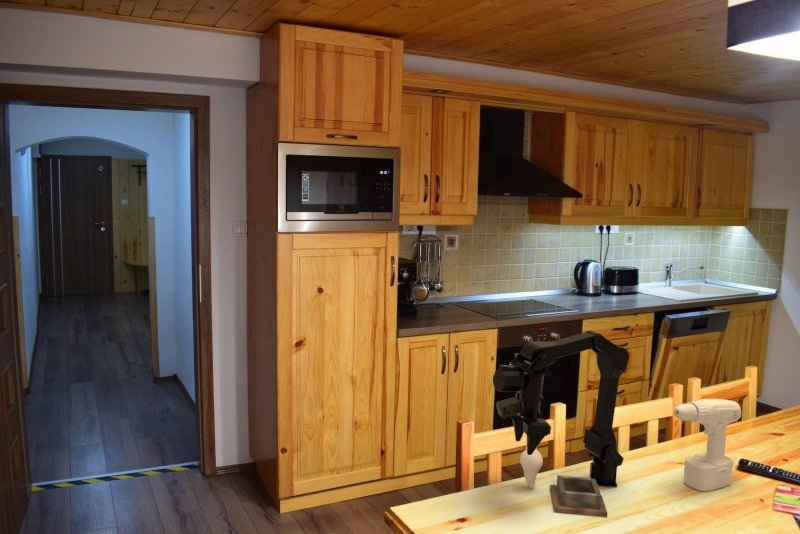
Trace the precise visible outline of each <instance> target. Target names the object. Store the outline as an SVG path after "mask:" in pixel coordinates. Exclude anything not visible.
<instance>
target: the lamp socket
mask: <svg viewBox="0 0 800 534" xmlns="http://www.w3.org/2000/svg"><path fill="white" fill-rule="evenodd" d="M549 491H550V495H551V500H552V501H551V502H552V506H553V511H554V513H559V514H570V515H578V516H579V515H580V516H590V517H591V516H592V517H600V518H607V517H608V511H607V510H608V509H607V508H606V505H605V502H604V499H603V497H602V494H601V490H600V488H599V485H597V483H596V480H595V479H594V478H590V477H581V476H570V475H569V476H568V475H560V474H559V475H556V484H550V485H549Z"/></svg>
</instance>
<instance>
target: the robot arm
mask: <svg viewBox="0 0 800 534" xmlns="http://www.w3.org/2000/svg"><path fill="white" fill-rule="evenodd" d="M589 350H591V351H593V352H594V354H596V364H597V368H598V371H599V375H600V377H599V385H598V392H597V398H596V406H595V407H596V408H595V413H594V422H593V424H592V425H591V426H590V428H586V429H584V437H583V441H582V442H583V444H584V448H585V450H586V451H587V453H588V456H590V457H591V458H592V462H590V464H589V478H594V479H595V480H596V483H597V486H602V487H603V486H604V487H613V488H614V487H615V488H617V487H618V484H617V475H618V474H617V473H618V472H617V471H618V467H621V466H622V465H623V462H624V456H622V455H621V454H620V453H619V451H618V450H617V438H616V436H615V433H614V429H613V427H614V426H613V425H614V417H615V412H616V411H615V410H616V403H617V395H618V389H619V382H620V378H621V377H622V375H623V374H624V372H626V370H627V366H628V364H629V359H630V353H629V351H628V350H627V349H626V348H625V347H622V346H620V345H617V344H615V343H613V342H612V341H611V340H609V339H607V338H606V337H605V336H603V334H602V333H598V332H596V331H593V330H586V331H585V332H582V333H578V334H575V335H571V336H570V335H569V336H567V337H564V338H560V339H556V340H552V341H545V340H544V341H543V340H542V341H541V340H538V341H528V342H525V343H524V344H523V345H522V348H521V350H520V351H519V352H518V353H517V355H515V357H514V359H513V360H512V361H511V363H510V365H507V364H506V365H505V364H499V365H498V369H496V370H495V371H494V374H493V376H492V385H493V387H494V389H495V391H496V392H501V393H502V392H506V393H507V392H508V393H509V392H515V394H514V395H515V396H514V397H508V398H505V399H502V400H498V401H496V402H495V406H496V411H497V413H498V414H497V415H499V416H500V418H501V419H503V420H504V419H508V418H511V420H512V425H513V431H514V439H515V441H516V442H521V439H522V438H523V436H524V434H525V435H526V450H527V454H528V455H532V453H533V452H534V451H535V450H537V448H538V446H539V445H540V444H541V442H542V441H543V440H544V438H545V437H547V436H548V435H550V434H551V432H552V431H551V430H552V426H551V425H550V423H549V422H548V421H546V420H545V419H544V418H542V414H543V413H542V412H541V411H540V410H541V409H540V408H541V402H542V403H544V399H545V398H544V396H542V392H543V387H544V386H543V385H544V378H545V377H546V376H552V372H551V371H550V370H549V369H548V366H550V365H553V364H554V363H555V362H556V361H557V360H558V359H560V358H564V357H566V356H570V355H573V354H577V353H581V352H585V351H589Z"/></svg>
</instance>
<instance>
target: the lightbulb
mask: <svg viewBox="0 0 800 534" xmlns="http://www.w3.org/2000/svg"><path fill="white" fill-rule="evenodd" d="M519 461H520V466H521V467H522V469H523V472H524V473H523V474H524V480H525V481H524V482H525V486H526V487H527V488H528V489H533V488H534V487H535V484H536V480H537V475H538V473H539V471H540V470H541V468H542V466H543V463H544V462H543V461H544V460H543V456H542V454H541V453H540V452H539V451H538V450H537V449H535V451H534V452H533V453H532V455H528V454H527V449H525V450H523V452H522V453H521V454H520V458H519Z"/></svg>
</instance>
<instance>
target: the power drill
mask: <svg viewBox="0 0 800 534" xmlns="http://www.w3.org/2000/svg"><path fill="white" fill-rule="evenodd" d="M673 414H674V416H675V417H676V418H677V419H679V420H681V421H685V422H686V421H688V422H691V423H698V424H700V425H702V426H703V427H704V430H703V434H704V435H707V442H706V452H702V453H697V454H694V455H691V456H687V457H685V459H684V469H683V471H684V472H683V483H684V484H685V485H687V486H688V487H690V488H692V489H694V490H697V491H698V492H699V491H700V492H710V491H715V490H718V489H722V488H725V487H728V486H730V485H731V482H732V475H733V467H734V459H732V458H730V457H728V456H726V455H725V451H726V445H727V444H726V442H727V438H726V437H727V428H728V425H730V424H732V423H734V422H736V421H738V420H739V419H740V418H741V416H742V409H741V405H740V404H739V403H738V402H736V400H735V401H734V400H730V399H723V398H722V399H721V398H703V399H698V400H693V401H689V402H687V403H680V404H678V405H676V406H675V408H674V409H673Z"/></svg>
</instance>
